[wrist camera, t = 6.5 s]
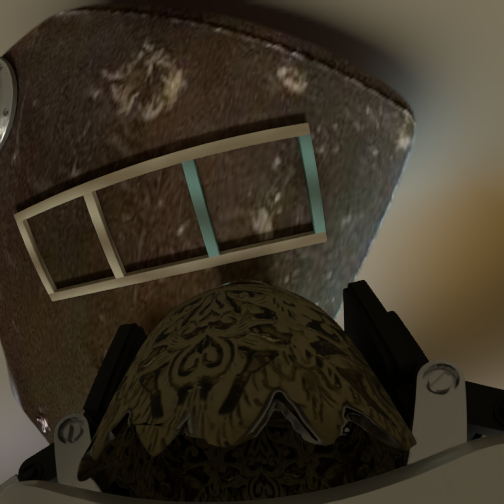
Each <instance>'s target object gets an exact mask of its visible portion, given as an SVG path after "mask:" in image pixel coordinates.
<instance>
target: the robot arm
mask: <svg viewBox="0 0 504 504" xmlns="http://www.w3.org/2000/svg"><path fill="white" fill-rule="evenodd" d="M16 105H17V81H16V76H15V73H14V70H13V68H12V66H11V64H10V63H9V62H8V61H7V60H6V59H4V58H2V57H0V149H1V148H2V146H3V145H4V143H5V141H6V139H7V137H8V135H9V132H10V130H11V127H12V124H13V120H14V116H15V111H16ZM343 302H344V332H345V333H346V334H347V336H348V337H349V338H350V339H351V340H352V342H353V343H354V345H355V346H356V347H357V349H358V350H359V351H360V353H361V354H362V356H363V357H364V359H365V360H366V362H367V363H368V365H369V366H370V368H371V369H372V371H373V372H374V374H375V375H376V377H377V378H378V380H379V381H380V383H381V385H382V386H383V388H384V389H385V391H386V392H387V394H388V396H389V397H390V399H391V400H392V402H393V404H394V405H395V407H396V408H397V410H398V412H399V413H400V415H401V417H402V418H403V420H404V421H405V423H406V425H407V426H408V428H409V430H410V431H411V433H412V434H413V436H414V438H415V440H416V442H417V444H416V445H415V446H413V447H411V448H410V450H407V451H406V454H405V459H404V454H402V456H401V458H400V462H401V466H402V467H401V468H400V467H399V465H398V463H397V461H395V464H394V466H395V470H392V471H389V472H386V473H383V474H380V475H377V476H373V477H370V478H367V479H364V480H360V481H357V482H353V483H349V484H345V485H342V486H337V487H333V488H329V489H324V490H320V491H315V492H310V493H304V494H298V495H292V496H285V497H278V498H270V499H261V500H250V501H235V502H176V501H161V500H150V499H143V498H142V497H141V496H140V495H139V494H138V497H137V498H135V497H134V496H135V491H134V490H133V493H132V496H130V489H129V488H128V487H127V488H128V490H129V491H128V490H127V489H126V488H121V487H118V482H116V481H113V482H112V483H111V484H109V480H108V476H107V472H106V470H100V471H97V472H96V475H95V477H94V478H93V477H91V478H89V479H88V480H86V481H82V482H81V481H79V480H78V479H77V472H78V467H79V463H80V461H81V459H82V457H83V455H84V453H85V452H86V450H87V449H88V447H89V445H90V443H91V441H92V439H93V437H94V435H95V433H96V431H97V429H98V426H99V424H100V422H101V420H102V418H103V416H104V414H105V412H106V410H107V408H108V406H109V404H110V402H111V400H112V398H113V396H114V394H115V392H116V391H117V389H118V387H119V385H120V383H121V381H122V379H123V377H124V376H125V374H126V372H127V370H128V368H129V367H130V365H131V363H132V361H133V359H134V358H135V356H136V354H137V353H138V351H139V350H140V348H141V346H142V345H143V343H144V342H145V341H146V339H147V336H146V334H145V332H144V330H143V328H142V327H140V326H139V327H138V325H137V324H135V323H132V324H124V325H120V327H119V329H118V331H117V333H116V335H115V337H114V339H113V341H112V343H111V345H110V348H109V350H108V352H107V354H106V356H105V358H104V361H103V363H102V365H101V367H100V370H99V372H98V374H97V376H96V379H95V381H94V383H93V386H92V388H91V390H90V393H89V395H88V398H87V400H86V402H85V405H84V407H83V409H84V410H85V412H84V415H81V414H75V413H74V414H70V415H68V416H66V417H64V418H63V419H62V420H60V421H59V423H58V424H57V426H56V428H55V431H54V443H52V444H50V445H49V446H47V447H46V448H44V449H43V450H41V451H39V452H38V453H36V454H35V455H33V456H31V457H30V458H28V459H27V460H25V461H24V462H23V464H22V465H21V466H20V469H19V473H18V475H17V474H15V475H14V476H12V477H11V478H9V479H8V480H7V481H5V482H4V483H2V484H1V485H0V504H504V390H501V389H497V388H493V387H489V386H484V385H480V384H476V383H472V382H468V381H465V378H464V374H463V372H462V370H461V368H460V367H459V366H458V365H456V364H455V363H453V362H451V361H448V360H441V359H440V360H433V361H430V362H429V360H428V359H427V357H426V356H425V355H424V353H423V351H422V350H421V348H420V347H419V345H418V344H417V342H416V341H415V339H414V338H413V336H412V335H411V334H410V332H409V331H408V329H407V328H406V326H405V325H404V324H403V322H402V321H401V319H400V318H399V317H398V315H397V314H396V313H395V312H394V311H390V312H387V311H386V310H385V308H384V307H383V305H382V304H381V302H380V301H379V299H378V298H377V297H376V295H375V294H374V293H373V291H372V290H371V288H370V287H369V285H368V284H367V282H366V281H365V280H361V281H357V282H353V283H349V284H348V288H345V289H343ZM115 479H116V478H115ZM133 495H134V496H133Z"/></svg>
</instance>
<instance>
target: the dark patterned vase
mask: <svg viewBox="0 0 504 504" xmlns="http://www.w3.org/2000/svg"><path fill="white" fill-rule="evenodd" d="M416 444H417V442H416V440H415V438H414V436H413V434H412V433H411V431H410V430H409V428H408V426H407V425H406V423H405V421H404V420H403V418H402V417H401V415H400V413H399V412H398V410H397V408H396V407H395V405H394V404H393V402H392V400H391V399H390V397H389V396H388V394H387V392H386V391H385V389H384V388H383V386H382V385H381V383H380V381H379V380H378V378H377V377H376V375H375V374H374V372H373V371H372V369H371V368H370V366H369V365H368V363H367V362H366V360H365V359H364V357H363V356H362V354H361V353H360V351H359V350H358V349H357V347H356V346H355V345H354V343H353V342H352V340H351V339H350V338H349V337H348V336H347V334H346V333H345V332H344V331H343V330H342V328H341V327H340V326H339V325H338V324H337V322H335V321H334V320H333V319H332V318H331V317H330V316H329V315H328V314H327V313H326V312H325V311H324V310H322V309H321V308H320V307H318V306H317V305H316V304H314V303H313V302H311V301H309V300H307V299H305V298H303V297H301V296H300V295H298V294H295V293H293V292H290V291H288V290H285V289H281V288H277V287H273V286H270V285H268V284H265V283H263V282H259V281H255V280H236V281H231V282H228V283H226V284H223V285H221V286H219V287H218V288H214V289H211V290H208V291H205V292H203V293H200V294H198V295H196V296H194V297H192V298H190V299H188V300H187V301H185V302H183V303H182V304H180V305H179V306H177V307H176V308H175V309H173V310H172V311H171V312H170V313H169V314H168V315H167V316H166V317H164V318H163V320H162V321H161V322H160V323H159V324H158V325H157V326H156V327H155V328H154V330H153V331H152V332H151V334H150V335H149V336H148V338H147V339H146V341H145V342H144V343H143V345H142V346H141V348H140V350H139V351H138V353H137V354H136V356H135V358H134V359H133V361H132V363H131V365H130V367H129V368H128V370H127V372H126V374H125V376H124V377H123V379H122V381H121V383H120V385H119V387H118V389H117V391H116V392H115V394H114V396H113V398H112V400H111V402H110V404H109V406H108V408H107V410H106V412H105V414H104V416H103V418H102V420H101V422H100V424H99V426H98V429H97V431H96V433H95V435H94V437H93V439H92V441H91V443H90V445H89V447H88V449H87V450H86V452H85V453H84V455H83V457H82V459H81V461H80V463H79V467H78V472H77V479H78V480H79V481H81V482H82V481H86V480H88V479H89V478H91V477H93V478H94V477H95V475H96V472H97V471H100V470H106V472H107V476H108V480H109V484H111V483H112V482H113V481H116V482H118V487H121V488H126V489H127V490H128V488H129V489H130V496H132V493H133V490H134V491H135V496H134V495H133V496H134V497H135V498H137V497H138V494H139V495H140V496H141V497H142V498H143V499H150V500H161V501H176V502H235V501H250V500H261V499H270V498H278V497H285V496H292V495H298V494H304V493H310V492H315V491H320V490H324V489H329V488H333V487H337V486H342V485H345V484H349V483H353V482H357V481H360V480H364V479H367V478H370V477H373V476H377V475H380V474H383V473H386V472H389V471H392V470H395V466H394V464H395V461H397V463H398V465H399V467H400V468H401V467H402V466H401V462H400V458H401V456H402V454H404V459H405V454H406V451H407V450H410V448H411V447H413V446H415V445H416ZM115 478H116V479H115ZM127 487H128V488H127ZM128 491H129V490H128Z"/></svg>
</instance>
